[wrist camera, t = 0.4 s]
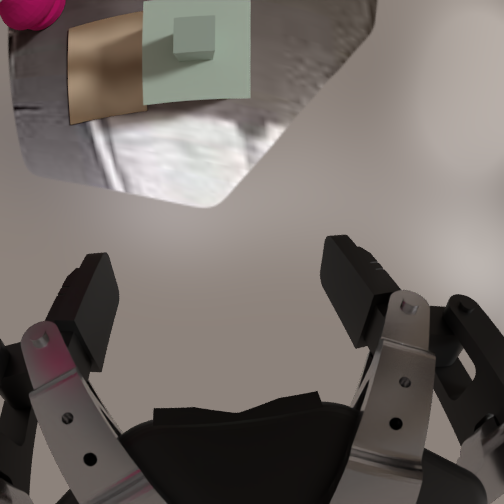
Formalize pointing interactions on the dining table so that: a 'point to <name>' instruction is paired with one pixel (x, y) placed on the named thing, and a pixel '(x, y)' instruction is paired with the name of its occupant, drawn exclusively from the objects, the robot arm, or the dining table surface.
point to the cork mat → (105, 68)
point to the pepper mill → (30, 13)
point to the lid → (195, 50)
